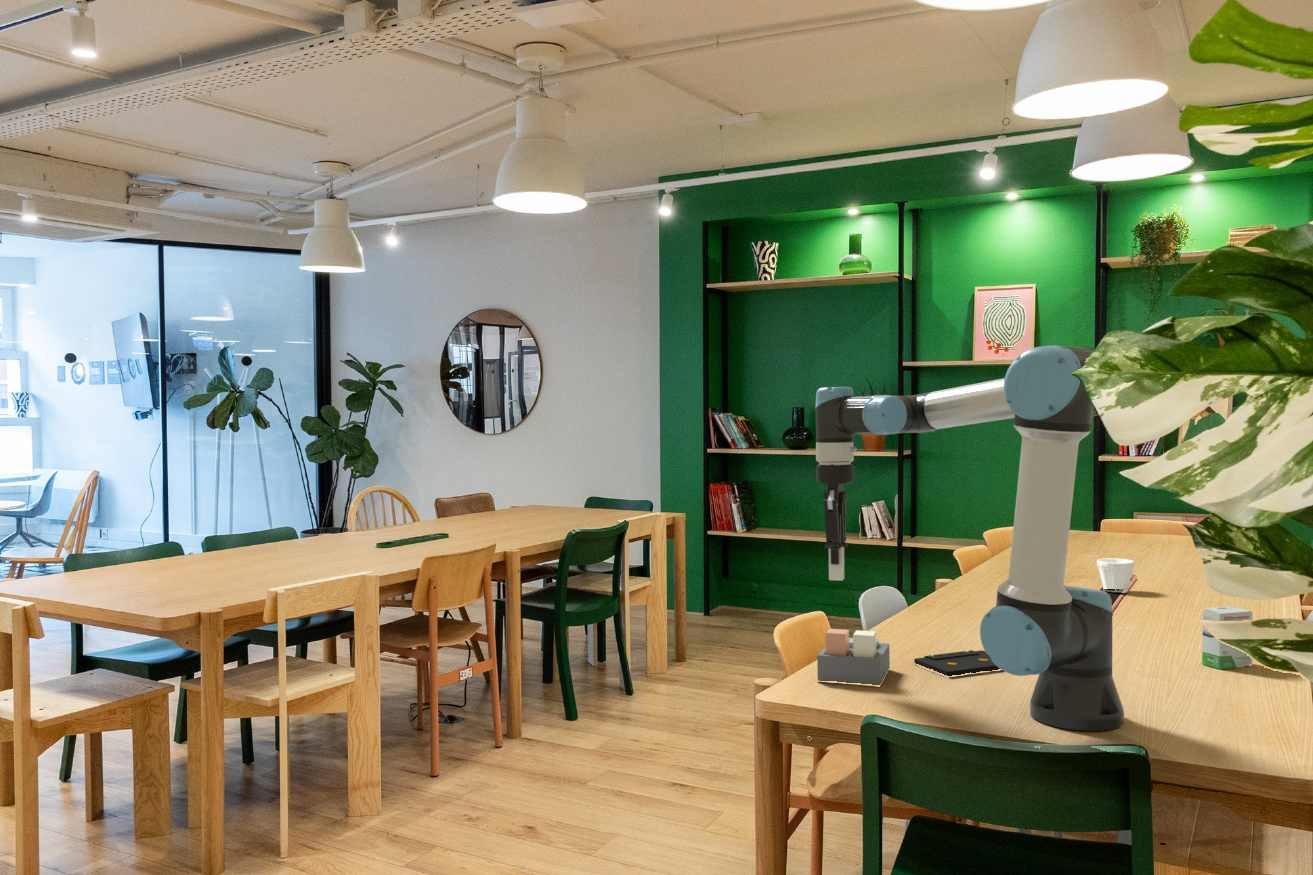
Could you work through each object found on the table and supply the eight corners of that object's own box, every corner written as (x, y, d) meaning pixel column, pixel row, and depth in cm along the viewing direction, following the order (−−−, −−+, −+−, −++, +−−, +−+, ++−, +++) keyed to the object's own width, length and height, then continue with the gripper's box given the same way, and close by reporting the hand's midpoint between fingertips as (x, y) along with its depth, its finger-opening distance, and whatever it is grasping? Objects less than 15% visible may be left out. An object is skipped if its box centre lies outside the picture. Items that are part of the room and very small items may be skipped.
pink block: (845, 663, 196) (845, 634, 196) (826, 662, 198) (825, 632, 198) (849, 658, 200) (848, 629, 200) (829, 657, 201) (829, 628, 201)
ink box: (1220, 670, 201) (1219, 612, 201) (1200, 664, 206) (1200, 608, 205) (1254, 666, 203) (1253, 609, 203) (1234, 660, 208) (1234, 605, 208)
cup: (1089, 590, 290) (1089, 559, 289) (1116, 588, 293) (1116, 557, 292) (1114, 596, 280) (1114, 564, 280) (1142, 593, 283) (1142, 562, 283)
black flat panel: (982, 658, 216) (982, 648, 216) (1019, 671, 205) (1018, 660, 205) (913, 667, 209) (913, 657, 209) (947, 680, 199) (947, 670, 198)
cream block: (873, 665, 194) (873, 635, 194) (853, 664, 196) (853, 634, 196) (876, 660, 198) (876, 631, 198) (856, 659, 199) (856, 630, 199)
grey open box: (880, 687, 192) (879, 654, 192) (817, 682, 197) (817, 650, 197) (889, 669, 206) (889, 638, 205) (830, 665, 210) (830, 635, 210)
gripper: (847, 465, 190) (849, 586, 191) (859, 461, 203) (860, 574, 204) (809, 465, 193) (811, 584, 193) (823, 461, 206) (825, 573, 206)
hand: (836, 579), depth 198 cm, fingers closed
